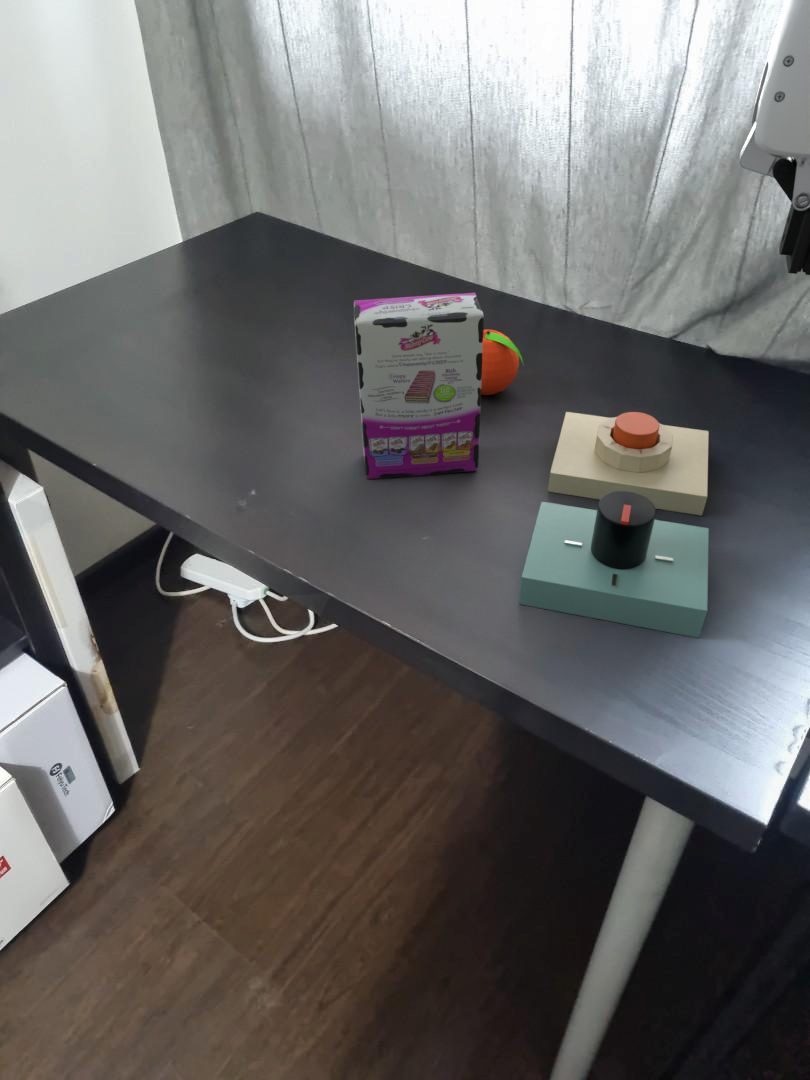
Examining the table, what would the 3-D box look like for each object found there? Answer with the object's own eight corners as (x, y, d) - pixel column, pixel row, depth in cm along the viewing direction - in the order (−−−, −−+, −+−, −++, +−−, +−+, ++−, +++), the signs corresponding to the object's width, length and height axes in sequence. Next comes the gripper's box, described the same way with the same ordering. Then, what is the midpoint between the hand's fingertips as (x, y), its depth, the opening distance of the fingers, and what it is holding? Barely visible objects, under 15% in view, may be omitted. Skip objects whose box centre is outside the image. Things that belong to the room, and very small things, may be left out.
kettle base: (703, 449, 83) (712, 415, 80) (702, 516, 75) (712, 480, 72) (563, 429, 86) (568, 396, 83) (547, 491, 78) (552, 456, 75)
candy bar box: (470, 444, 84) (478, 290, 73) (478, 473, 80) (487, 314, 70) (361, 451, 83) (352, 296, 73) (363, 480, 79) (355, 322, 69)
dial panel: (701, 555, 71) (709, 526, 69) (698, 638, 63) (708, 609, 61) (538, 527, 74) (541, 499, 72) (518, 604, 67) (521, 575, 64)
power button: (657, 430, 79) (660, 414, 78) (654, 453, 76) (658, 437, 75) (614, 424, 80) (617, 409, 79) (610, 447, 77) (613, 431, 76)
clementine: (536, 389, 92) (542, 330, 87) (504, 416, 88) (509, 356, 83) (475, 369, 96) (478, 311, 91) (442, 394, 91) (443, 335, 87)
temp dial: (594, 529, 69) (602, 483, 66) (648, 539, 68) (659, 492, 65) (587, 563, 66) (595, 516, 62) (643, 574, 65) (654, 527, 61)
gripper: (1045, -82, 44) (913, 256, 56) (751, -84, 47) (685, 236, 59) (1091, -69, 39) (933, 302, 51) (755, -72, 42) (681, 277, 54)
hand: (799, 266), depth 55 cm, fingers closed
